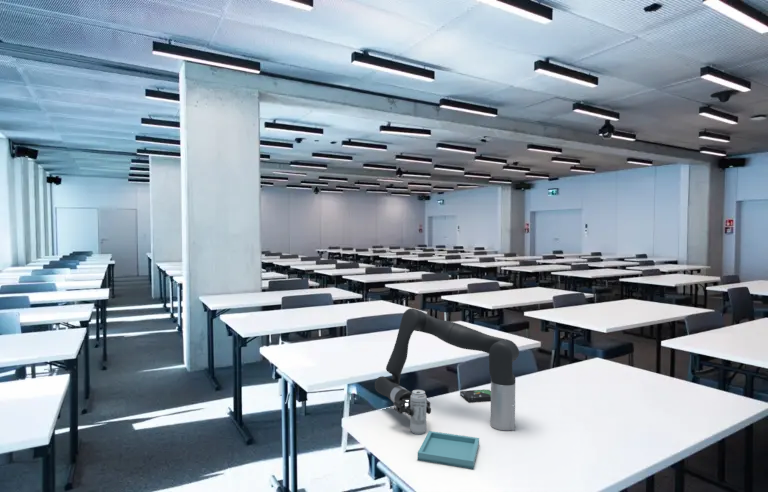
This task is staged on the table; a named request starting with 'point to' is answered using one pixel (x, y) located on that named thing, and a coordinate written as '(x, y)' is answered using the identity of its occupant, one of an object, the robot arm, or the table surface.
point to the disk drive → (476, 395)
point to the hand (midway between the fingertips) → (421, 412)
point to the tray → (449, 449)
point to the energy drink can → (418, 412)
